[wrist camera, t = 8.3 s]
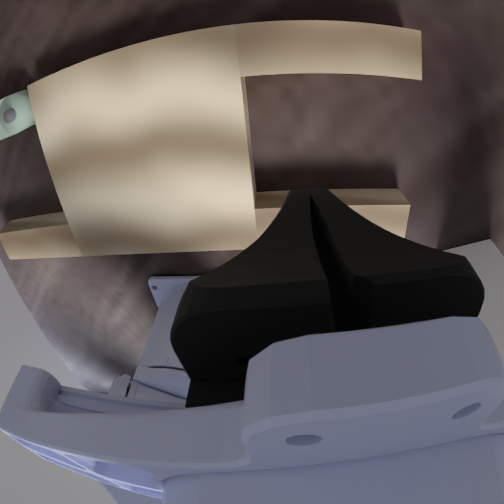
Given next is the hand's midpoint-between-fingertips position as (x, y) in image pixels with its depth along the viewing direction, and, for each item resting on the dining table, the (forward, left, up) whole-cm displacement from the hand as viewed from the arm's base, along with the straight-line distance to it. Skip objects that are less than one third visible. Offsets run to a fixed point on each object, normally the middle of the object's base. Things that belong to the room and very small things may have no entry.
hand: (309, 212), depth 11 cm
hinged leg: (+6, +22, -9) cm, 25 cm away
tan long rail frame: (0, +10, -9) cm, 14 cm away
